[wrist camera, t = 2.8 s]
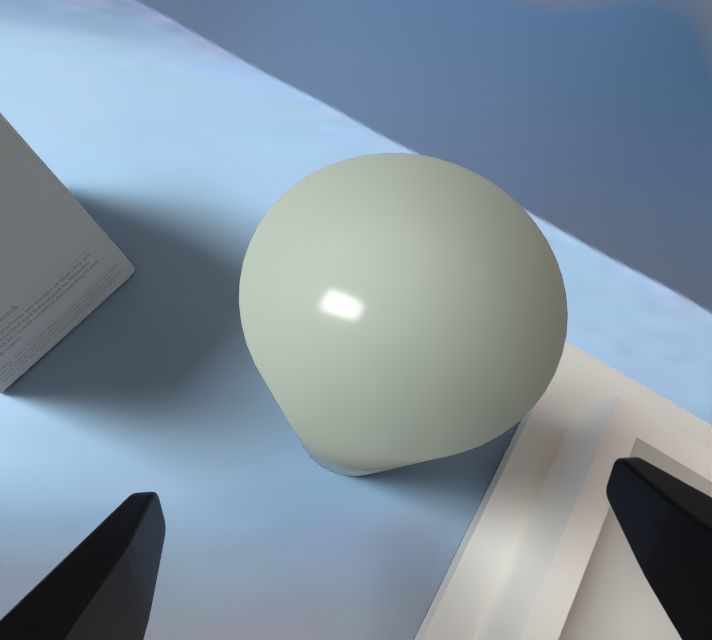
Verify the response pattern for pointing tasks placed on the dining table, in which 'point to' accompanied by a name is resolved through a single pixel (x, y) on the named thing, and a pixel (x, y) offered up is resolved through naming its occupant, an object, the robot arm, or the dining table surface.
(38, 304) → the supplement box
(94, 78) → the dining table surface
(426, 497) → the dining table surface
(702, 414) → the dining table surface
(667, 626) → the dish drying rack
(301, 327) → the sage green domed cylinder
